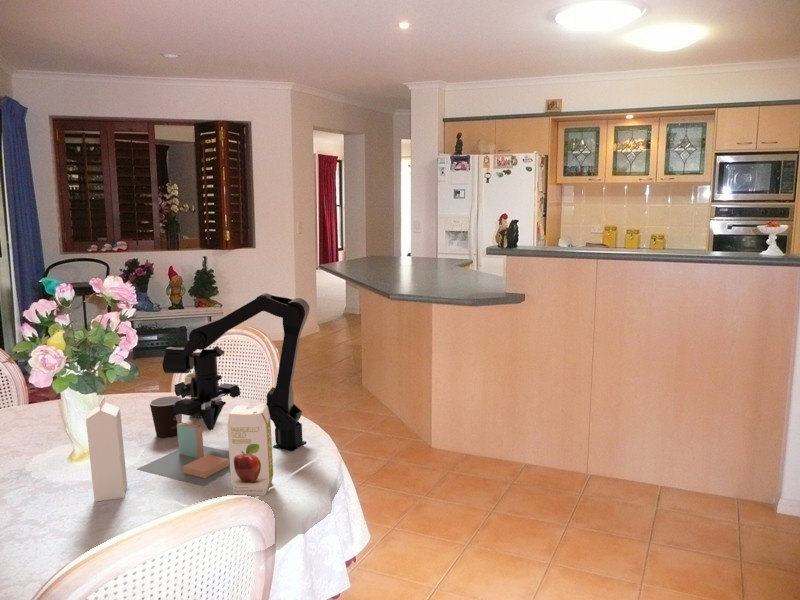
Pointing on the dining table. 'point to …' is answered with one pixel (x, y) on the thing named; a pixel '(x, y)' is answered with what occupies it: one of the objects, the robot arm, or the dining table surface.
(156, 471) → the mat
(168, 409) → the coffee mug
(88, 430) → the milk
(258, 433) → the juice carton
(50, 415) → the dining table surface
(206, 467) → the tile
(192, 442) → the tile
